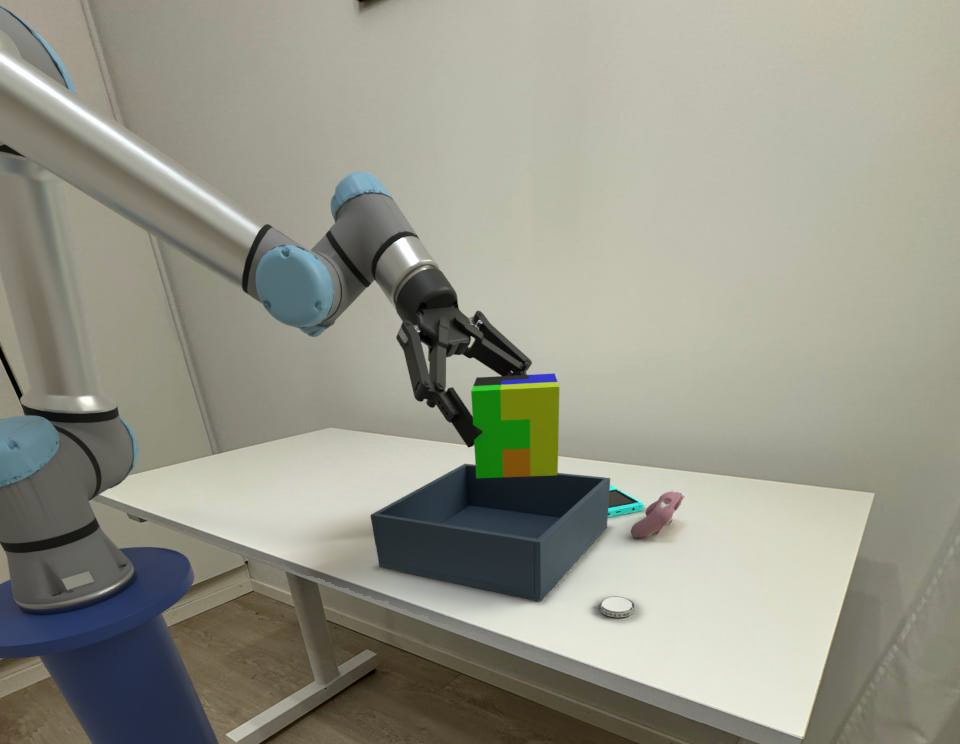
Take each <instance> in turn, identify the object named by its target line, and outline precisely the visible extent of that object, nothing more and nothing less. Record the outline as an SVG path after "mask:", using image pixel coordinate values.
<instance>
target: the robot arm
mask: <svg viewBox="0 0 960 744" xmlns="http://www.w3.org/2000/svg"><path fill="white" fill-rule="evenodd" d="M66 183H67V184H69V185H71V186H72V187H74V188H76V190H79V191H80V192H81V193H83V194H85V195H86V196H88V197H90V198H91V199H93V200H94V201H96V202H98V203H100V204H102V205H103V206H105V207H106V208H107V209H110V210H111V211H113V212H114V213H116V214H117V215H119V216H120V217H122V218H124V219H125V220H127V221H129V222H130V223H132V224H134V225H135V226H137V227H139V228H140V229H142V230H143V231H145V232H147V233H148V234H150V235H152V236H153V237H155V238H156V239H158V240H160V241H161V242H163V243H165V244H166V245H168V247H171V248H172V249H174V250H176V251H177V252H179V253H181V255H184V256H185V257H187V258H188V259H191V260H192V261H193V262H196V263H197V264H199V265H200V266H202V267H203V268H204V269H207V270H208V271H210V272H212V273H213V274H215V275H216V276H218V277H220V278H222V279H223V280H225V281H226V282H228V283H230V284H231V285H233V286H234V287H236V288H238V289H239V290H241V291H242V292H244V293H246V294H247V295H248V296H250V297H251V298H252V299H254V300H255V301H257V302H258V303H261V304H262V305H263V307H264V309H265V310H266V311H267V312H268V314H269V315H270V316H271V317H272V318H274V319H275V321H278V322H279V323H281V324H284V325H286V326H289V327H293V328H298V329H299V330H300V331H301V332H302V333H304V334H306V335H308V337H311V338H318V337H319V336H321V335H322V334H323V333H324V332H325V331H326V330H327V329H329V328H330V327H332V326H333V325H334V324H335V323H336V321H337V320H338V318H339V317H340V316H342V315H343V313H344V312H345V311H346V310H347V309H348V308H349V307H350V306H352V304H353V303H354V302H355V301H356V300H357V299H358V298H359V296H360V295H362V294H363V292H365V290H366V289H367V288H369V287H370V286H371V285H372V284H373V282H376V284H377V285H378V286H379V288H380V289H381V291H382V293H383V294H384V296H385V297H386V298H387V301H389V303H390V304H391V306H392V307H393V308H394V309H395V311H396V313H397V315H398V317H399V318H400V320H401V321H402V323H401V325H400V327H399V329H398V332H397V334H396V336H395V339H396V341H397V343H398V344H399V346H400V347H401V350H402V351H403V354H404V359H405V363H406V367H407V371H408V375H409V379H410V383H411V388H412V393H413V397H414V399H415V401H417V402H419V403H422V402H424V400H426V401H425V403H426V405H427V406H428V407H429V408H432V409H433V408H435V407H437V409H438V410H439V411H440V413H441V414H442V416H443V418H444V419H445V420H446V421H447V422H448V423H451V425H452V426H453V427H454V429H455V430H456V432H457V433H458V435H459V437H461V439H462V440H463V443H465V446H466V447H467V448H472V447H473V446H474V440H475V439H476V438H477V437H478V436H479V435H480V434H481V433H483V431H482V430H480V429H479V428H477V427H476V426H474V425H473V414H472V413H471V411H470V410H469V409H468V407H467V406H466V405H465V402H464V401H463V400H462V399H461V397H460V396H459V394H458V392H457V391H456V389H455V388H454V387H453V386H452V387H448V388H447V358H451V357H452V356H461V355H463V356H464V357H466V358H467V359H475V360H477V361H478V362H480V363H481V364H482V365H484V366H485V367H487V368H489V369H490V370H491V371H493V372H495V373H496V374H498V375H499V376H515V375H528V373H527V372H528V370H529V369H530V367H532V364H533V362H532V360H531V359H530V358H529V357H528V356H527V355H526V354H525V353H524V352H523V351H521V350H520V349H519V348H518V347H517V345H515V344H514V343H513V342H512V341H511V340H509V339H508V337H506V336H505V335H504V334H503V333H502V332H500V331H499V330H498V329H497V328H496V327H495V326H494V325H493V324H492V323H491V322H490V321H489V320H488V318H487V317H486V316H485V314H484V313H483V312H482V310H476V311H475V313H474V315H473V316H470V317H468V316H466V315H465V314H464V313H463V312H462V311H461V310H460V308H459V299H458V294H457V292H456V290H455V288H454V287H453V286H452V284H451V282H450V281H449V280H448V278H447V277H446V275H445V274H444V272H442V270H441V269H440V266H439V264H438V262H437V261H436V259H435V258H434V257H433V255H432V254H431V252H430V251H429V250H428V248H427V247H426V245H425V244H424V242H423V241H422V240H421V238H420V237H419V236H418V234H417V232H416V231H415V230H414V228H413V227H412V225H411V224H410V222H409V221H408V219H407V217H406V216H405V215H404V213H403V211H402V209H401V208H400V207H399V205H398V204H397V203H396V201H395V200H394V198H393V197H392V195H391V194H390V193H389V191H387V189H386V188H385V186H384V185H383V184H382V182H381V181H380V180H379V179H378V178H377V177H376V176H375V175H373V174H372V173H370V172H368V171H354V172H352V173H349V174H347V175H346V176H345V177H343V178H342V179H341V180H340V181H339V182H338V184H337V185H336V186H335V188H334V194H333V195H332V196H331V199H330V212H331V216H332V217H333V220H334V223H333V224H332V225H331V227H330V228H329V230H328V231H327V232H326V233H325V234H324V235H323V236H322V237H321V239H319V241H318V242H317V243H315V245H314V246H313V247H312V248H311V249H308V248H306V247H304V246H303V245H301V244H300V243H299V242H297V241H295V239H293V238H292V237H290V236H288V235H286V234H285V233H284V232H282V231H281V230H279V229H277V228H276V227H274V226H272V225H271V224H269V223H268V222H267V221H265V220H264V219H262V218H261V217H259V216H258V215H256V214H254V213H253V212H252V211H250V210H249V209H247V208H246V207H244V206H243V205H241V204H240V203H238V202H237V201H236V200H234V199H232V198H231V197H229V196H228V195H226V194H225V193H223V192H222V191H220V190H219V189H217V188H216V187H215V186H213V185H212V184H210V183H209V182H207V181H205V180H204V179H203V178H201V177H200V176H198V175H197V174H196V173H193V172H192V171H190V170H189V169H188V168H186V167H185V166H183V165H182V164H181V163H179V162H178V161H176V160H174V159H173V158H171V156H169V155H167V154H165V153H164V152H162V151H161V150H159V149H158V148H156V147H155V146H153V145H152V144H151V143H149V142H148V141H146V140H144V139H143V138H142V137H140V136H138V135H137V134H135V133H134V132H132V131H131V130H129V128H127V127H125V126H124V125H122V124H121V123H119V122H118V121H117V120H115V119H113V118H112V117H110V116H109V115H108V114H106V113H105V112H103V111H101V110H100V109H98V108H97V107H95V106H94V105H93V104H91V103H89V102H88V101H86V100H85V99H84V98H82V97H80V96H79V95H78V92H77V90H76V87H75V85H74V82H73V80H72V78H71V75H70V73H69V72H68V70H67V68H66V66H65V65H64V63H63V61H62V60H61V58H60V56H59V55H58V54H57V53H56V52H55V50H54V49H53V48H52V47H51V45H50V44H49V43H48V42H47V40H45V39H44V38H43V37H42V36H41V35H40V34H39V33H38V32H37V31H36V30H34V29H33V28H32V27H30V25H28V24H27V23H26V22H25V21H24V20H23V19H22V18H20V17H18V16H17V15H16V14H15V13H14V12H12V11H11V10H10V9H8V8H7V7H4V6H3V5H1V4H0V276H1V280H2V284H3V288H4V292H5V295H6V300H7V303H8V308H9V312H10V315H11V318H12V319H11V320H12V323H13V326H14V331H15V333H16V334H15V335H16V338H17V341H18V345H19V346H18V347H19V349H20V353H21V357H22V362H23V365H24V369H25V372H26V376H27V380H28V384H29V388H28V390H26V391H25V393H23V394H22V396H21V397H20V404H21V407H22V411H23V415H17V416H10V417H4V418H0V546H1V548H2V550H3V551H4V553H5V555H6V560H7V566H8V572H9V573H8V574H9V580H11V587H12V593H13V598H14V600H15V601H16V603H17V605H18V606H19V608H20V609H21V611H23V612H25V613H28V614H33V615H53V614H61V613H66V612H71V611H76V610H79V609H83V608H86V607H90V606H93V605H95V604H98V603H101V602H103V601H106V600H108V599H110V598H112V597H114V596H116V595H118V594H120V593H121V592H123V591H124V590H126V589H127V588H128V587H130V586H131V585H132V584H133V583H134V581H135V580H136V577H137V574H136V571H135V569H134V567H133V565H132V563H131V562H130V560H129V559H128V558H127V557H126V556H125V555H124V554H123V553H122V552H121V550H120V548H119V547H118V546H117V545H116V544H115V542H113V541H112V540H111V539H110V537H108V535H107V534H106V533H105V532H104V530H103V529H102V528H101V525H100V523H99V521H98V519H97V517H96V515H95V513H94V510H93V508H92V506H91V504H90V501H91V500H93V499H94V498H97V497H98V496H100V495H101V494H102V493H104V492H106V491H108V490H110V489H113V488H115V487H117V486H118V485H120V484H122V483H123V481H126V479H127V478H128V476H130V475H131V474H132V472H133V471H134V470H135V468H136V466H137V463H138V461H139V455H140V448H139V443H138V439H137V436H136V434H135V432H134V430H133V429H132V427H131V425H130V424H128V423H126V422H125V420H124V418H123V417H122V416H121V415H120V412H119V408H118V404H117V401H116V400H115V399H113V398H112V397H111V396H109V394H108V393H106V391H104V389H103V386H102V381H101V376H100V370H99V366H98V360H97V355H96V349H95V344H94V340H93V335H92V329H91V325H90V320H89V315H88V314H89V313H88V309H87V304H86V298H85V294H84V289H83V283H82V279H81V274H80V268H79V263H78V259H77V258H78V257H77V253H76V249H75V243H74V238H73V234H72V233H73V232H72V227H71V223H70V218H69V213H68V208H67V204H66V198H65V193H64V186H65V184H66ZM472 338H473V339H474V340H473V342H472ZM471 342H472V344H471ZM423 345H425V346H427V349H428V352H427V359H426V357H425V353H424V348H423ZM426 360H427V361H428V363H429V365H427V361H426ZM428 367H429V368H428ZM446 388H447V389H446Z"/></svg>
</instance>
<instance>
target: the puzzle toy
mask: <svg viewBox="0 0 960 744" xmlns="http://www.w3.org/2000/svg"><path fill="white" fill-rule="evenodd" d="M470 395H471V412H472V413H471V415H472V416H473V425H474V426H476V427H477V428H479V429H480V430H482V431H483V433H481V434H480V435H479V436H478V437H477V438H476V439H475V440H474V445H473V446H474V461H475V462H474V463H475V464H474V465H476V478H499V477H525V476H552V475H558V473H559V471H558V469H559V433H560V432H559V430H560V429H559V428H560V384H559V382H558V379H557V377H556V373H535V374H527V375H515V376H501V375H499V376H498V375H497V376H479V377H478V376H477V377H476V378H475V380H474V382H473V385H472V388H471V391H470Z"/></svg>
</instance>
